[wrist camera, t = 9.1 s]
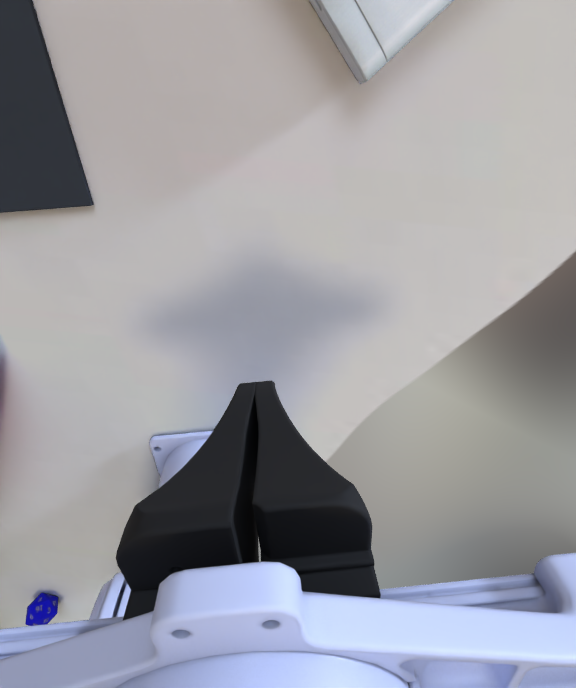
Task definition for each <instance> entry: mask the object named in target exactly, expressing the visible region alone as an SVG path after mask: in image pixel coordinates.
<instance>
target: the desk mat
mask: <svg viewBox="0 0 576 688" xmlns="http://www.w3.org/2000/svg"><path fill="white" fill-rule="evenodd" d="M92 205H93V201H92V198H91V194H90V191H89V188H88V184H87V181H86V178H85V175H84V171H83V168H82V165H81V161H80V158H79V155H78V151H77V148H76V145H75V141H74V138H73V135H72V132H71V128H70V125H69V122H68V118H67V115H66V112H65V108H64V105H63V102H62V98H61V95H60V92H59V88H58V85H57V82H56V79H55V75H54V72H53V69H52V65H51V62H50V59H49V55H48V52H47V49H46V45H45V42H44V39H43V36H42V32H41V29H40V26H39V22H38V19H37V16H36V12H35V9H34V6H33V2H32V0H0V213H2V212H15V211H28V210H41V209H54V208H67V207H80V206H92Z"/></svg>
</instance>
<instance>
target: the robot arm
mask: <svg viewBox="0 0 576 688" xmlns="http://www.w3.org/2000/svg"><path fill="white" fill-rule="evenodd" d="M149 445H150V448H151V451H152V454H153V457H154V460H155V463H156V466H157V469H158V472H159V475H160V478H161V479H160V482H159V486H158V489H157V490H156V491H155V492H153V493H152V494H151V495H149V496H148V497H147V498H145V499H144V500H142V501H141V502H140V503H138V504H137V505H136V506H135V507H134V509H133V512H132V514H131V516H130V518H129V520H128V522H127V524H126V527H125V529H124V532H123V535H122V538H121V541H120V544H119V547H118V550H117V555H116V560H117V564H118V566H119V568H120V570H121V572H122V573H117V574H116V575H115V576H114V577H113V578H112V579H111V580H109V581H108V582H107V583H105V584H104V585H103V587H102V589H101V591H100V593H99V595H98V597H97V600H96V602H95V605H94V608H93V610H92V613H91V616H90V619H89V620H83V621H74V622H64V623H54V624H45V625H35V626H26V627H16V628H7V629H0V688H576V553H568V554H558V555H550V556H546V557H544V558H542V559H540V561H539V562H538V563H537V565H536V567H535V571H534V573H532V574H522V575H513V576H504V577H494V578H484V579H476V580H465V581H456V582H446V583H437V584H428V585H417V586H408V587H398V588H389V589H379V586H378V582H377V578H376V574H375V570H374V559H373V555H372V551H371V538H372V523H371V518H370V516H369V513H368V510H367V508H366V506H365V504H364V502H363V500H362V498H361V496H360V494H359V493H358V491H357V489H356V488H355V486H354V485H353V484H352V483H351V482H349V481H348V480H346V479H345V478H344V477H342V476H341V475H340V474H338V473H337V472H336V471H335V470H334V469H332V468H331V467H330V466H329V465H328V464H327V463H326V462H325V461H324V460H323V459H322V458H321V457H320V456H319V455H318V454H317V453H316V452H315V451H314V450H313V449H312V448H311V447H310V446H309V445H308V444H307V442H306V441H305V440H304V439H303V437H302V436H301V435H300V433H299V432H298V431H297V429H296V428H295V426H294V425H293V423H292V422H291V420H290V419H289V417H288V415H287V413H286V412H285V410H284V408H283V406H282V404H281V402H280V400H279V397H278V395H277V392H276V389H275V383H274V382H273V381H263V382H252V383H241V384H239V385H238V387H237V389H236V392H235V394H234V396H233V398H232V400H231V402H230V404H229V406H228V408H227V409H226V411H225V413H224V415H223V416H222V418H221V420H220V421H219V423H218V424H217V426H216V427H215V429H214V430H213V431H205V432H194V433H184V434H173V435H162V436H154V437H152V438H151V439H150V442H149ZM157 447H160V448H157ZM258 537H259V543H260V548H261V562H259V556H258Z"/></svg>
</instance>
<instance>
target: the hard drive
mask: <svg viewBox="0 0 576 688" xmlns="http://www.w3.org/2000/svg"><path fill="white" fill-rule="evenodd" d="M309 1H310V2H311V4H312V6H313V7H314V9H315V10H316V12H317V14H318V16H319V17H320V19H321V21H322V22H323V24H324V26H325V27H326V29H327V31H328V32H329V34H330V36H331V37H332V39H333V41H334V42H335V44H336V46H337V47H338V49H339V51H340V52H341V54H342V56H343V58H344V59H345V61H346V62H347V64H348V66H349V68H350V69H351V71H352V72H353V74H354V76H355V77H356V79H357V80H358V81H359V83H360V84H362V83H364V82H367V81H368V80H369V79H370V78H371V77H372V76H373V75H374V74H376V73H377V72H378V71H379V70H380V69H381V68H382V67H383V66H384V65H385V64H386V63H387V62H388V61H389V60H390V59H391V58H393V57H394V56H395V55H396V54H397V53H398V52H399V51H400V50H401V49H402V48H403V47H404V46H405V45H406V44H408V43H409V42H410V41H411V40H412V39H413V38H414V37H415V36H416V35H417V34H418V33H419V32H420V31H421V30H423V29H424V28H425V27H426V26H427V25H428V24H429V23H430V22H431V21H432V20H433V19H434V18H436V17H437V16H438V15H439V14H440V13H441V12H442V11H443V10H444V9H445V8H446V7H447V6H448V5H449V4H451V3H452V2H453V1H454V0H309Z"/></svg>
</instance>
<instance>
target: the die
mask: <svg viewBox="0 0 576 688" xmlns="http://www.w3.org/2000/svg"><path fill="white" fill-rule="evenodd" d="M57 608H58V597H57V596H53V595H49V594H45V593H41V594H40V595H39V596H38V597H37V598H36V599H35V600H34V601H33V602H32V603H31V604H30V605H29V606H28V607H27V615H26V625H29V626H35V625H45V624H48V623H49V622H50V620H51V619H52V618H53V617H54V616H55V615H56V614H57Z"/></svg>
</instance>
